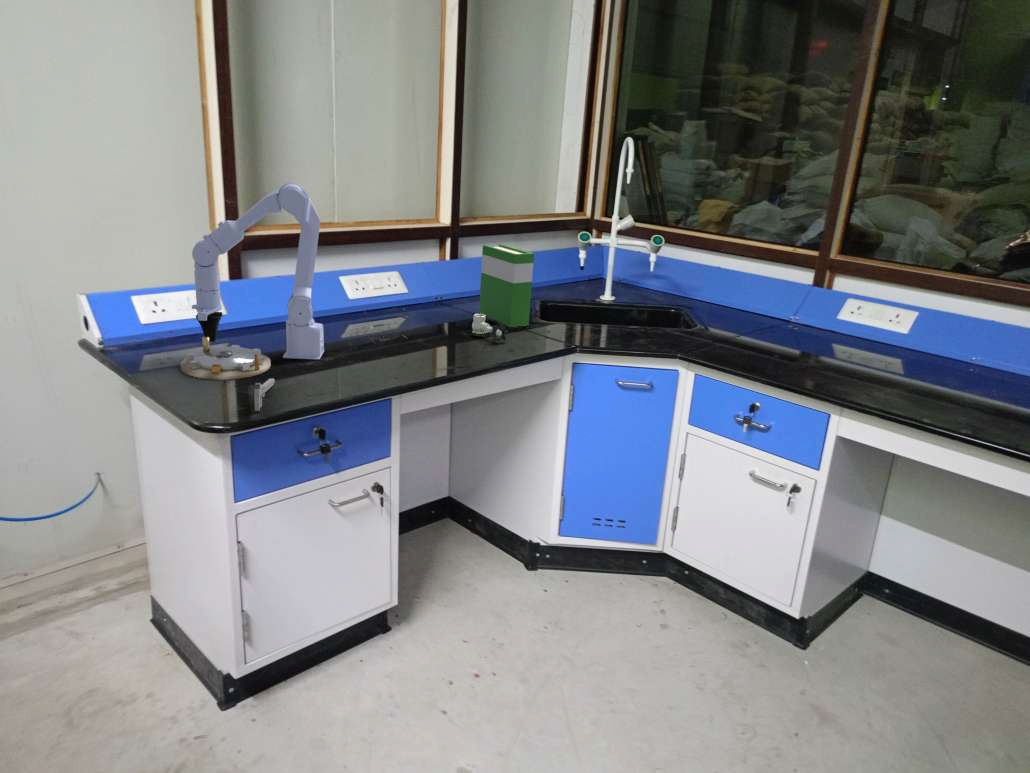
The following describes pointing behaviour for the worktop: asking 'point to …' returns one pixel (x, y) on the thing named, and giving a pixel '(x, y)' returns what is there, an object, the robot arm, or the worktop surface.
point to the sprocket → (223, 358)
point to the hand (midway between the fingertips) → (211, 341)
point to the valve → (488, 327)
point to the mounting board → (228, 374)
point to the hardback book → (506, 284)
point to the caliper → (261, 392)
